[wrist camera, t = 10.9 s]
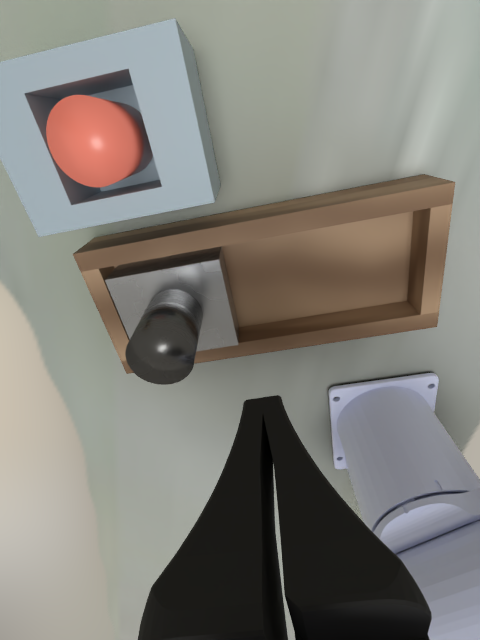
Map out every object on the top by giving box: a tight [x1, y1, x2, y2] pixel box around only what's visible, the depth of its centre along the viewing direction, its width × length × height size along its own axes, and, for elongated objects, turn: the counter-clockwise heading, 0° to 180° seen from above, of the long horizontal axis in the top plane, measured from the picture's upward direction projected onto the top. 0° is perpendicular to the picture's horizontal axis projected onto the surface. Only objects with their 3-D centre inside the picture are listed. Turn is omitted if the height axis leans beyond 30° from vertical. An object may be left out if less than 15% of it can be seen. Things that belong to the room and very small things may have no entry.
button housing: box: [0, 18, 221, 237], centre depth 15 cm, size 6×8×5 cm
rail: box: [73, 174, 455, 374], centre depth 20 cm, size 8×19×3 cm, turn 101°
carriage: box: [105, 246, 239, 384], centre depth 17 cm, size 5×6×6 cm
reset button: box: [46, 95, 153, 187], centre depth 14 cm, size 3×3×4 cm
